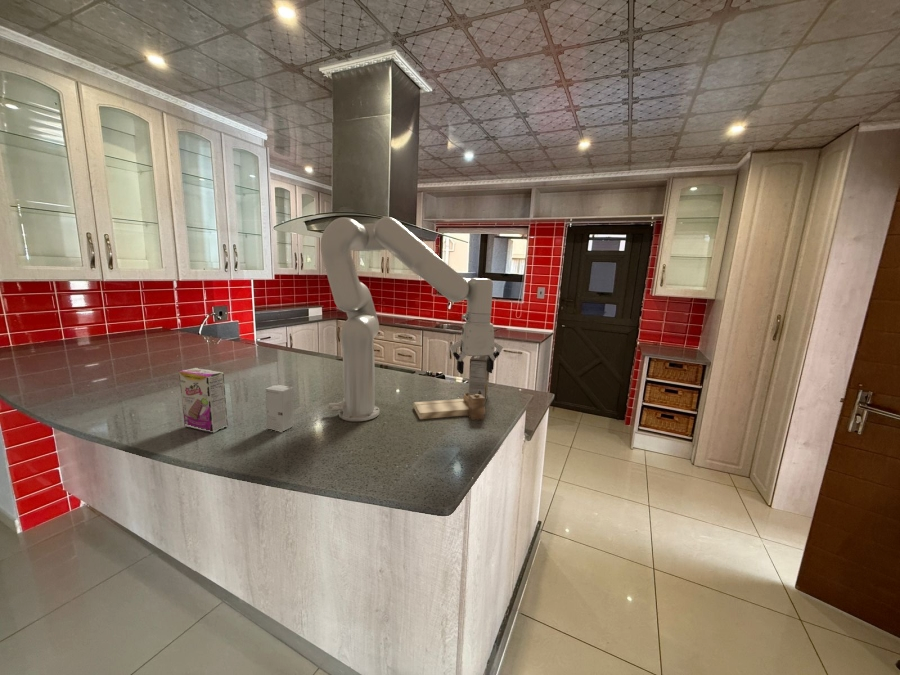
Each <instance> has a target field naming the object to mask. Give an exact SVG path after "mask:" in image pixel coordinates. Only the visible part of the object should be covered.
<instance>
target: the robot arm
mask: <svg viewBox="0 0 900 675" xmlns="http://www.w3.org/2000/svg"><path fill="white" fill-rule="evenodd" d="M384 250H385V251H388V252H389V253H390V254H391V255H393V256H394V257H395V258H396V259H398V260H399V261H400V262H401V263H402V264H404V265H405V266H406V267H407V268H408V269H409V270H411V271H412V272H413V273H414V274H416V275H417V276H420V278H422V279H423V280H424V281H425V282H426V283H428V284H429V285H430V286H431V287H432V288H433V289H435V290H436V291H437V292H438V293H439V294H441V296H443V297H444V298H446V299H447V300H448V301H450V302H451V303H452V302H453V303H459V302H462V301H465V300H466V303H467V304H466V311H465V314H462V315H461V319H462V320H465V321H464V322H463V325H462V329H461V335H460V341H458V342H456V343H453V344H452V345H449V350H450V352H451V354H452V356H453V357H454V358H455V359H456V360H457V361H456V370H457V372H458V374H461V375H463V374H464V365H465V362H464V361H463V360H464V359H465V358H466V357H472V356H488V357H489V359H487V368H486V371H488V372H489V374H492V373H493V370H494V366H495V364H494V362H495V361H496V360H497V358H498V357H499V356H500V355H501V352H502V350H503V346H502V345H500V344H499V343H497V342H495V330H494V324H493V323H491V318H492V306H493V305H492V303H493V291H494V290H493V288H494V283H493V281H492V279H490V278H484V277H482V278H480V277H472V278H466V277H463V276H462V275H461V274H459V272H458V271H456V269H454V268H452V267H451V266H450V265H448V263H447V262H445V261H444V260H443V259H441V258H440V257H439V256H438V255H437V254H436V253H435V252H434V250H432V249H431V248H430V247H429V246H428V245H427V244H426V243H425V242H423V241H422V240H421V239H419V238H418V237H417V236H416V235H415V234H414V233H413V232H411V231H410V230H409V229H408V228H407V227H405V226H404V225H403V224H402V223H401V222H400V221H398V220H397V219H395V218H393V217H391V216H383V217H381V218H380V219H378V220H377V221H376V222H373V223H359V222H358V221H357V220H355V219H353V218H350V217H338V218H336V219H334V220H332V221H331V222H330V223H329V224H328V225H327V226H326V227H325V229H324V230H323V233H322V234H321V239H320V253H321V258H322V262H323V264H324V269H325V272H326V275H327V280H328V283H329V286H330V290H331V294H332V297H333V301H334V304H335V305H336V307H337V308H338V309H339V311H342V312H344V313H345V314H346V316H347V319H346V320H345V321H344V322H343V323H342V326H341V329H340V335H339V336H340V344H341V350H342V375H343V377H342V379H343V382H342V383H343V398H342V401H339V402H329V403H328V410H332V412H338V416H339V418H340V419H342V420H343V421H346V422H347V421H348V422H366V421H371V420H373V419H375V418H377V417H378V416H379V415H380V411H381V410H380V408H379V406H377V405H375V404H376V402H375V397H376V396H375V395H376V394H375V393H376V392H375V391H376V390H375V387H376V385H375V378H376V377H375V374H376V373H375V371H376V370H375V369H376V368H375V349H374V339H375V338H376V337H377V336H378V335H379V334H378V333H379V331H380V323H379V319H378V316H377V311H376V308H375V304H374V301H373V297H372V294H371V292H370V289H369V288H368V286H367V285H366V284H364V283H363V282H362V281H360V279H359V276H358V272H357V269H356V268H357V267H356V265H355V262H354V260H353V257H352V251H354V252H367V251H368V252H369V251H384ZM458 348H459V353H458V352H457V349H458Z"/></svg>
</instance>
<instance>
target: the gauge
mask: <svg viewBox="0 0 900 675" xmlns="http://www.w3.org/2000/svg"><path fill="white" fill-rule="evenodd" d="M462 396H463V398H462V399H463V400H464V401H465V402H466V403H467V404H468V405H469V413H468V415H467V416H468V417H469V418H470V419H471V420H472V421H475V419H477V420H484V419H485V414H484V407H485V404H486V402H485V398H484V397H483V396H482V395H481V394H475V395H469V391H468V392H467V391H466V392H465V393H463V395H462Z"/></svg>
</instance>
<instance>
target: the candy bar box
mask: <svg viewBox="0 0 900 675" xmlns="http://www.w3.org/2000/svg"><path fill="white" fill-rule="evenodd" d="M178 375H179V385H180V391H181V392H180V395H181V401H182V402H181V404H182V414H183V422H184V424H183V425H185V424H187V425H191V426H194V427H198V428H201V429H206V430H210V431H213V430H216V429H219V428H221V427H223V426H226V425H228V426H229V423H228V413H227V402H226V401H227V400H226V399H227V398H226V390H225V388H226V387H225V376H224V375H225V373H224V372H223V371H218V370H211V369H205V368H201V367H200V368H199V367H193V368H192V367H191V368H188V369H183V370H181V371H178Z"/></svg>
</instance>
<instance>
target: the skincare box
mask: <svg viewBox="0 0 900 675" xmlns="http://www.w3.org/2000/svg"><path fill="white" fill-rule="evenodd" d="M265 420H266V421H265V422H266V423H265V424H266V425H265V426H266V427H265V428H266V429H267V428H270V429H274V430H279V431H284V430H286V429H288V428H290V427H292V426H293V427H294V387H292V386H287V385H280V384H275V385H271V386H269V387H267V388H265ZM293 427H292V428H293Z"/></svg>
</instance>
